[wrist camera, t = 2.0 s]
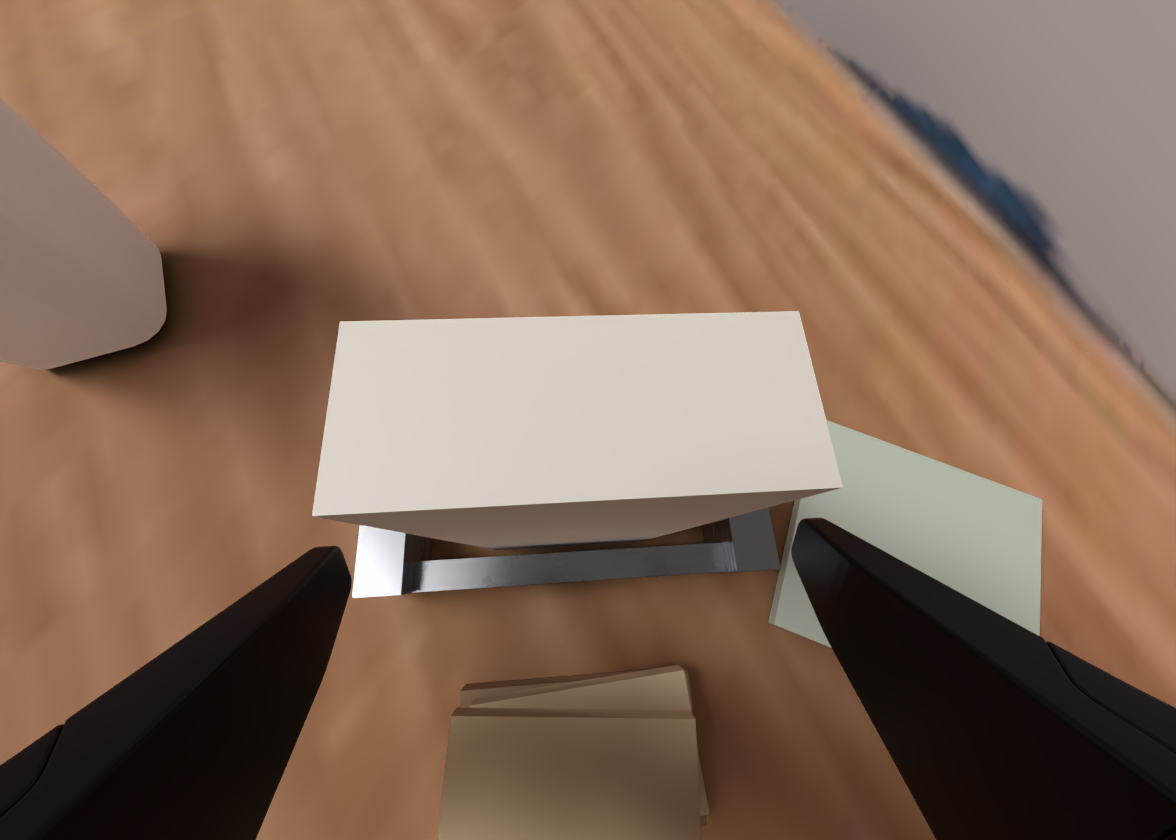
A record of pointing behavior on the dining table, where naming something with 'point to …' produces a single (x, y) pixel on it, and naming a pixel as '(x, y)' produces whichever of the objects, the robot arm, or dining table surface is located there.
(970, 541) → the sage mat
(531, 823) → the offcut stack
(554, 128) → the dining table surface
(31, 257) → the cup
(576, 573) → the slot rack
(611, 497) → the tall block
